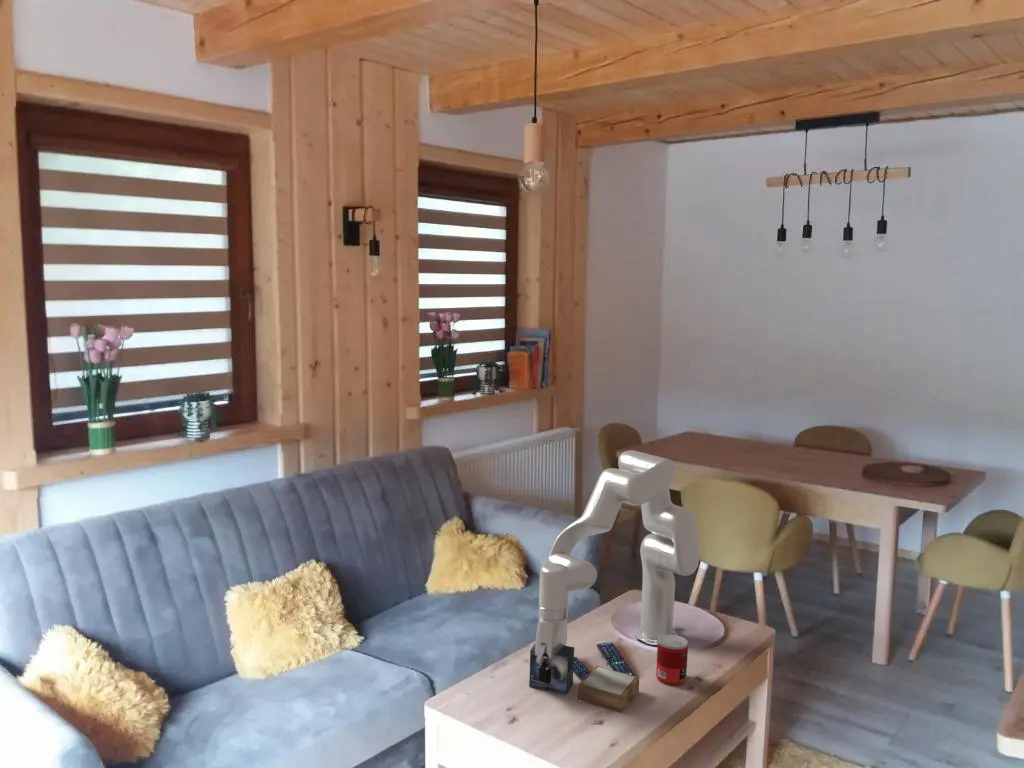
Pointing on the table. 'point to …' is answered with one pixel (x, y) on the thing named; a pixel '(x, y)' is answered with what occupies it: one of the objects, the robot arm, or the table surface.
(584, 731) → the table surface
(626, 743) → the table surface
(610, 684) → the wooden box
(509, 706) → the table surface
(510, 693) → the table surface
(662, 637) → the canned food
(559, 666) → the small box
